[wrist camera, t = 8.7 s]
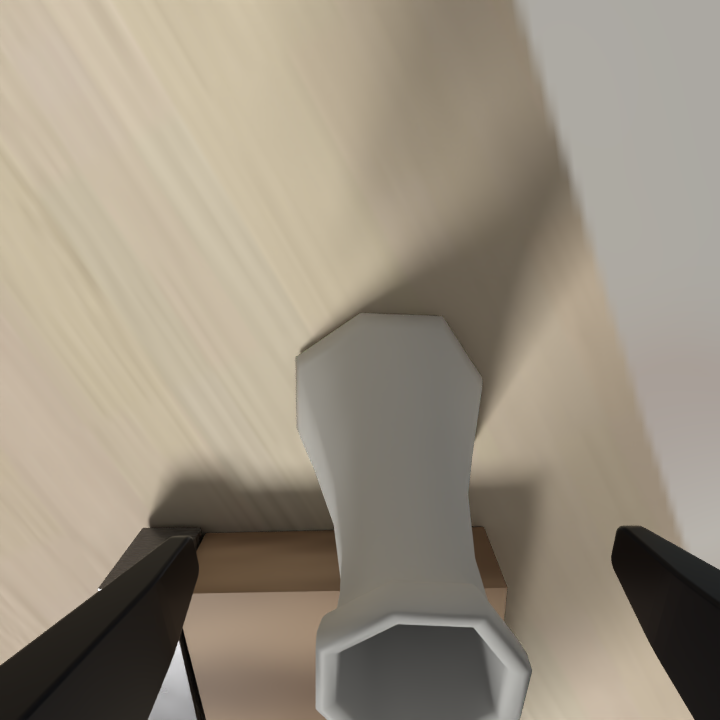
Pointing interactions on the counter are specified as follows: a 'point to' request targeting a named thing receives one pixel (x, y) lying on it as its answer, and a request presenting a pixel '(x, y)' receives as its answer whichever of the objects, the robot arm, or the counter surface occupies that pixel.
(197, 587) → the tan square panel
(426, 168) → the counter surface
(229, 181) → the counter surface
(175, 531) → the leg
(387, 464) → the flask
